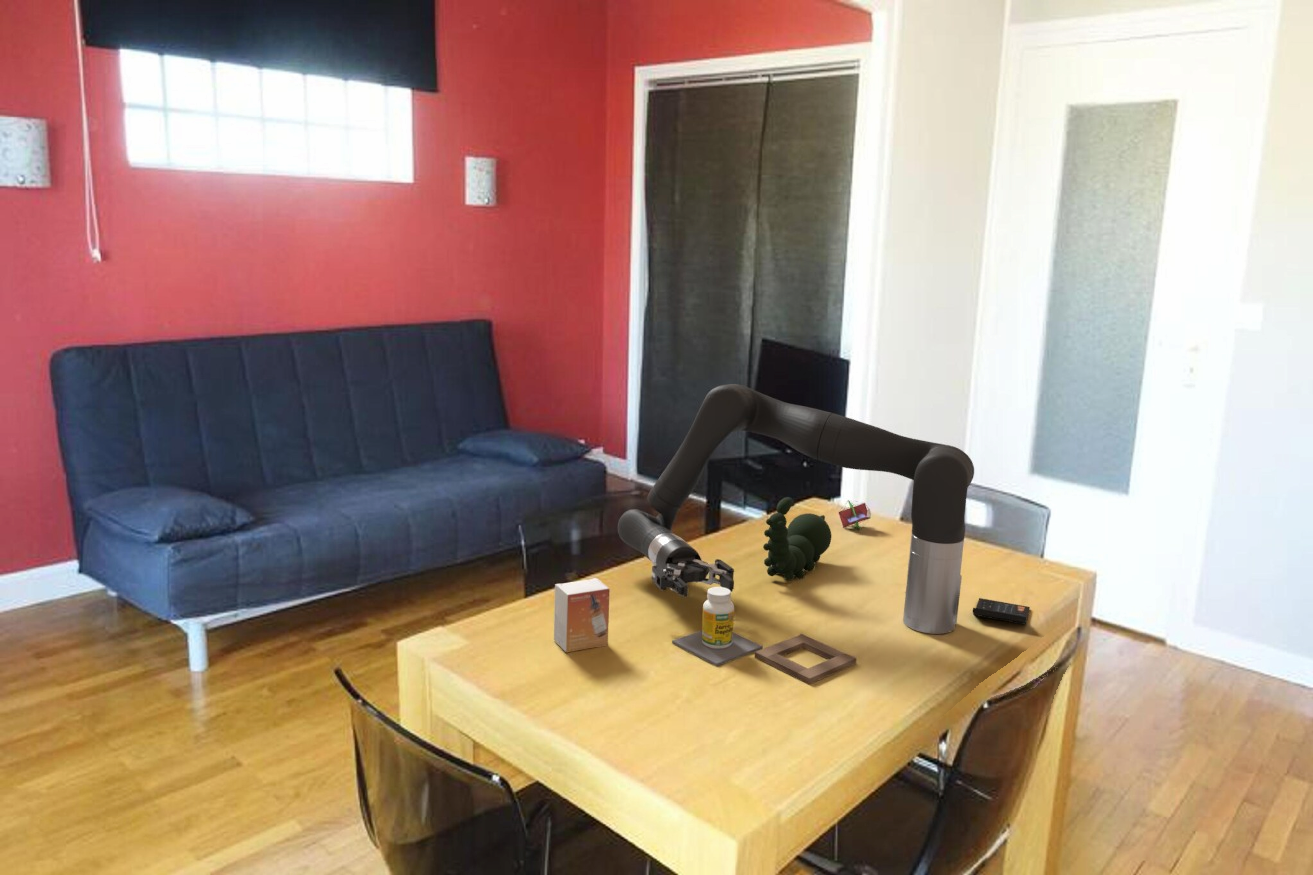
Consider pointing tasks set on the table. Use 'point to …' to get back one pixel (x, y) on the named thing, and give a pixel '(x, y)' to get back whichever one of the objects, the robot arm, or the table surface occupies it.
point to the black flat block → (1001, 611)
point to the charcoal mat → (717, 656)
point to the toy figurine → (795, 542)
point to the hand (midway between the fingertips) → (708, 589)
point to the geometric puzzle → (854, 515)
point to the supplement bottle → (718, 618)
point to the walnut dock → (808, 675)
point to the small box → (581, 615)
